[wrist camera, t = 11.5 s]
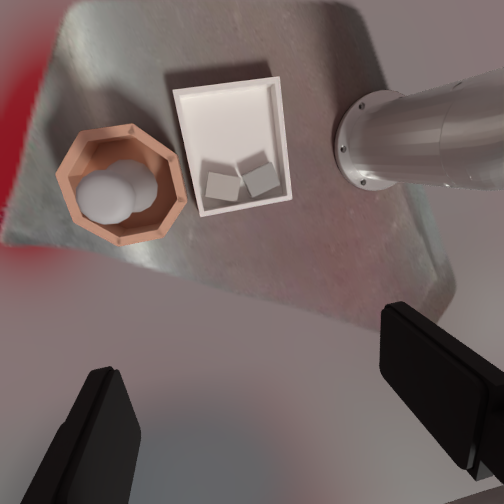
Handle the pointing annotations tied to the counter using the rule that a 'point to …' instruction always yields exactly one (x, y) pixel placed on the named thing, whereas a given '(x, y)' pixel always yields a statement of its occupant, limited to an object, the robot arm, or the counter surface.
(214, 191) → the beige rectangular block
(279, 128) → the tray
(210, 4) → the counter surface
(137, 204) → the salt shaker
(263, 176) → the grey rectangular block
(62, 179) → the bowl
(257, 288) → the counter surface
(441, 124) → the robot arm
